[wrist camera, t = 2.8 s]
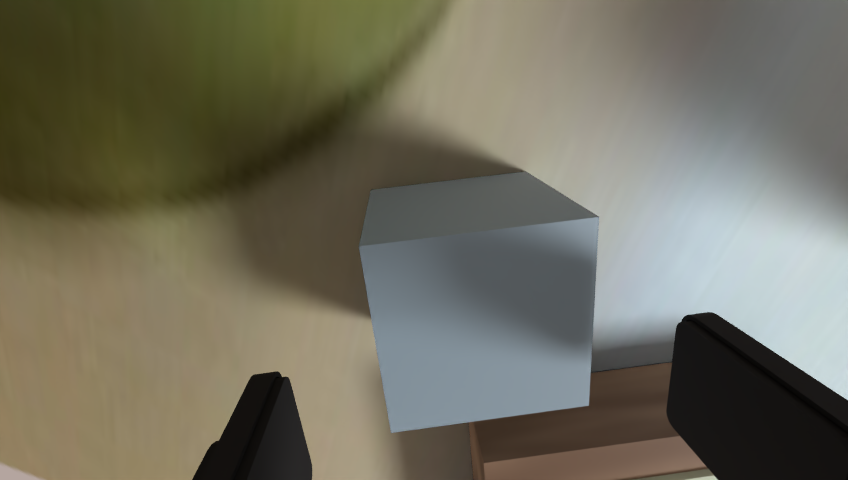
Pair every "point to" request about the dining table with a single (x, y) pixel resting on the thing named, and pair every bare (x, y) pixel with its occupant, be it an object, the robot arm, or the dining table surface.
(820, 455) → the robot arm
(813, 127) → the dining table surface
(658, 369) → the plinth
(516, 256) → the cube
